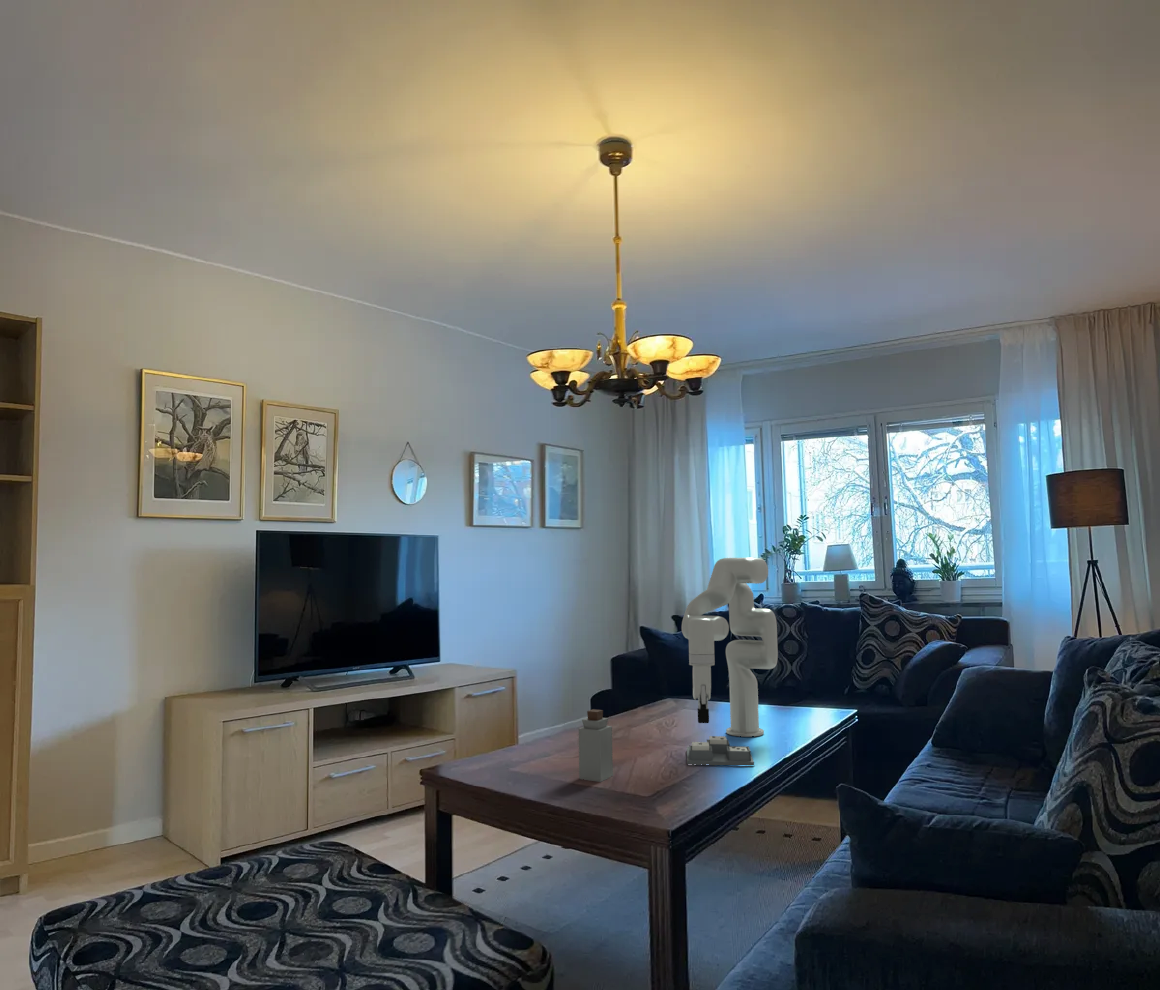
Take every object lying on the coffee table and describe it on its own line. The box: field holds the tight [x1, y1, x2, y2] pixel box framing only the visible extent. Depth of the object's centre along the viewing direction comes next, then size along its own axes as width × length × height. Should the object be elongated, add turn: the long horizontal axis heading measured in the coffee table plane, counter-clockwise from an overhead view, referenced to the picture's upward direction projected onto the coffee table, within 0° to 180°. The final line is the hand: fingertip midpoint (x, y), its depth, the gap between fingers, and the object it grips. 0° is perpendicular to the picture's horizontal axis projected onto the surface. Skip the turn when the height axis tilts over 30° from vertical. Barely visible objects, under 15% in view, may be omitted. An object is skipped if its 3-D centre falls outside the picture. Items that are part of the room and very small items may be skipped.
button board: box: [686, 739, 755, 766], centre depth 237 cm, size 18×19×4 cm
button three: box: [729, 747, 748, 751], centre depth 232 cm, size 5×5×2 cm
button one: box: [691, 741, 709, 750], centre depth 233 cm, size 5×5×2 cm
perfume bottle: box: [578, 708, 614, 783], centre depth 218 cm, size 7×7×18 cm
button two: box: [708, 735, 728, 744], centre depth 241 cm, size 5×5×2 cm
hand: (703, 722), depth 234 cm, fingers closed
